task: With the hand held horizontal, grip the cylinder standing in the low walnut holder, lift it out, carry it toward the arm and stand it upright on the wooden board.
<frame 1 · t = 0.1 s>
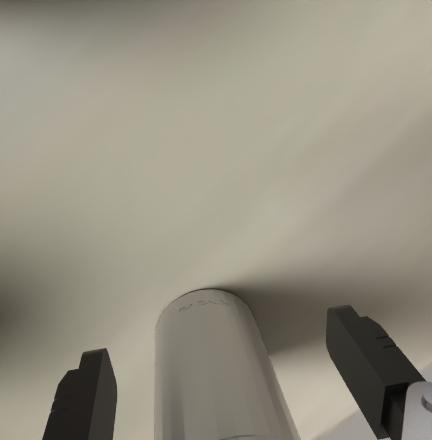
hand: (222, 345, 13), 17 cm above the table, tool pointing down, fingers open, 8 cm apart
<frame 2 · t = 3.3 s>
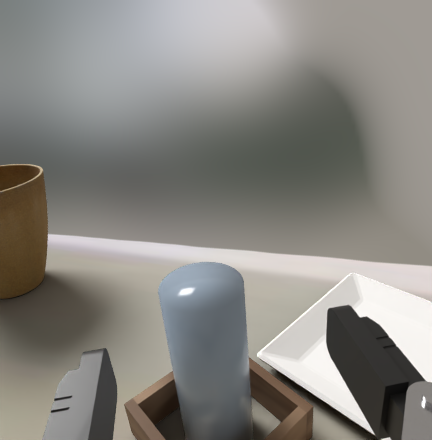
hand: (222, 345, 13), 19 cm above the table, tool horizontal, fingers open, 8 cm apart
cylinder: (211, 368, 28), in the holder
holder: (219, 434, 31), on the table
plate: (391, 364, 36), on the table
plant pot: (19, 284, 55), on the table
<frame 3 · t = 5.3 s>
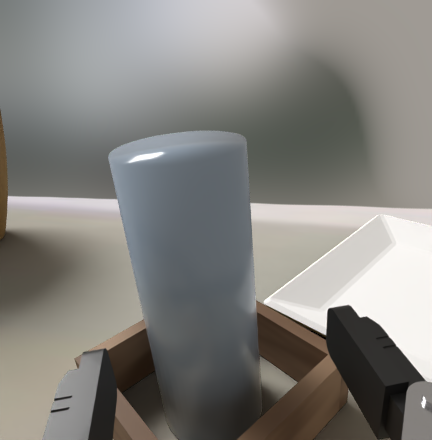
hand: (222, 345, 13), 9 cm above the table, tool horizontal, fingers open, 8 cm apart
cylinder: (198, 295, 18), in the holder
holder: (213, 402, 21), on the table
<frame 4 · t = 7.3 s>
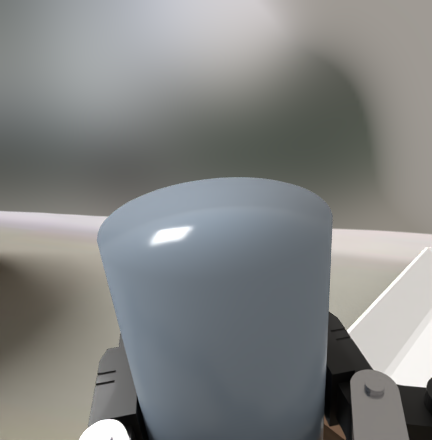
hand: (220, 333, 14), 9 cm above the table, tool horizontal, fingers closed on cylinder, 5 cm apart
cylinder: (235, 420, 12), in the holder, touching gripper
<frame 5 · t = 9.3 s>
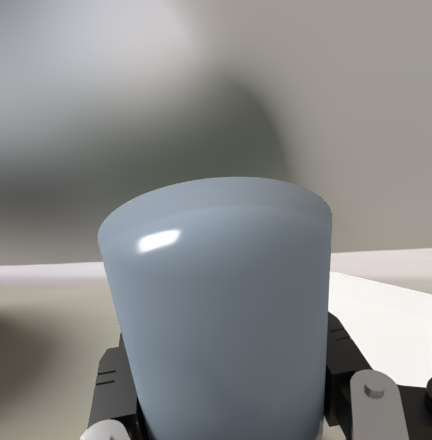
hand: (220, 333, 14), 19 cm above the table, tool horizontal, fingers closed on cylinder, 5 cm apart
cylinder: (235, 419, 12), point 17 cm above the table, touching gripper
plate: (363, 350, 37), on the table
when the fingers open (11 cm above the table, at t = 11.8 s): cylinder stays where it is, resting on wooden board.
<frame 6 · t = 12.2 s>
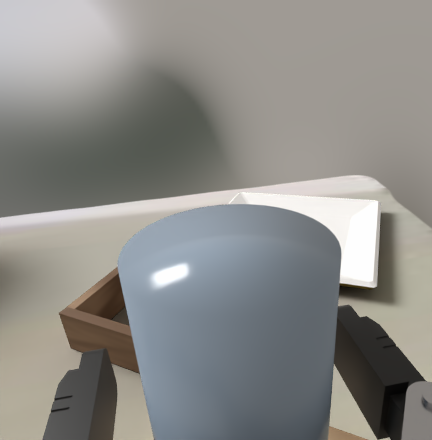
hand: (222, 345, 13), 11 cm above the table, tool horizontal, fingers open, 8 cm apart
cylinder: (241, 438, 13), on the wooden board, point 9 cm above the table
holder: (162, 321, 32), on the table
plate: (289, 243, 43), on the table
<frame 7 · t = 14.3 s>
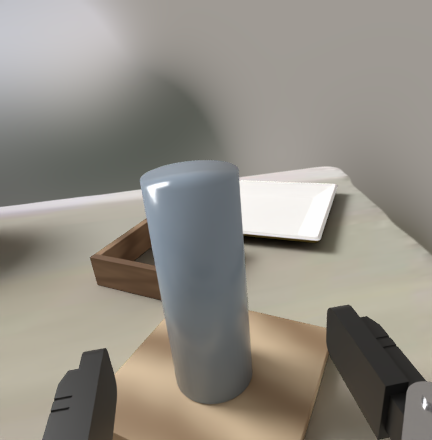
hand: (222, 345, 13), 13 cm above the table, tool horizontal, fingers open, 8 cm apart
cylinder: (203, 284, 24), on the wooden board, point 9 cm above the table
wooden board: (218, 378, 28), on the table
holder: (163, 267, 43), on the table
plate: (263, 217, 54), on the table
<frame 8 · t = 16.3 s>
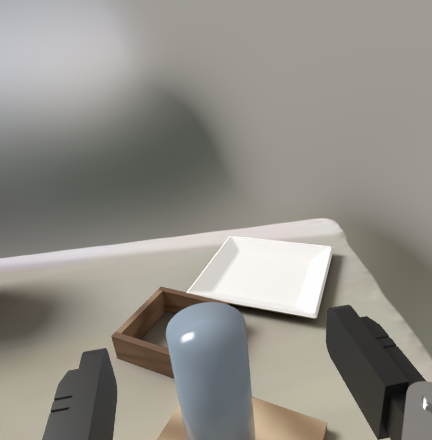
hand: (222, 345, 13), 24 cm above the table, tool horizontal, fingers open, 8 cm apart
cylinder: (216, 403, 29), on the wooden board, point 9 cm above the table
holder: (176, 340, 48), on the table
plate: (265, 280, 59), on the table
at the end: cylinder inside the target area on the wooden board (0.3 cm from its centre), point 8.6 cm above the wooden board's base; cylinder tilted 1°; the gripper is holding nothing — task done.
